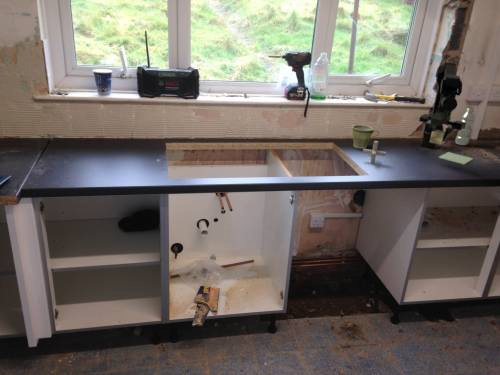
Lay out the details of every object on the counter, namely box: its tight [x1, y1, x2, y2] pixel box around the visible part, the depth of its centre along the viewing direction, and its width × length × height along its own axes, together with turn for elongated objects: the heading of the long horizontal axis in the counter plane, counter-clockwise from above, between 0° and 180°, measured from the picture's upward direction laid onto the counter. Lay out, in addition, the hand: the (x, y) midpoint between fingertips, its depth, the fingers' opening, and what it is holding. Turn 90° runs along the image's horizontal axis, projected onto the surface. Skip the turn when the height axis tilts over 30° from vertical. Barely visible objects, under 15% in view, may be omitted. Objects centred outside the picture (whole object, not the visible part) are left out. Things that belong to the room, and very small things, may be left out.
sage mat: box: [438, 151, 474, 166], centre depth 205 cm, size 12×12×1 cm
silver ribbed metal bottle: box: [454, 106, 476, 146], centre depth 223 cm, size 6×7×20 cm
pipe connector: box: [362, 140, 387, 164], centre depth 192 cm, size 10×10×10 cm
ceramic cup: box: [352, 124, 380, 150], centre depth 212 cm, size 13×10×10 cm
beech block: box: [430, 130, 446, 146], centre depth 193 cm, size 5×5×5 cm
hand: (437, 140), depth 193 cm, fingers closed on beech block, 5 cm apart
